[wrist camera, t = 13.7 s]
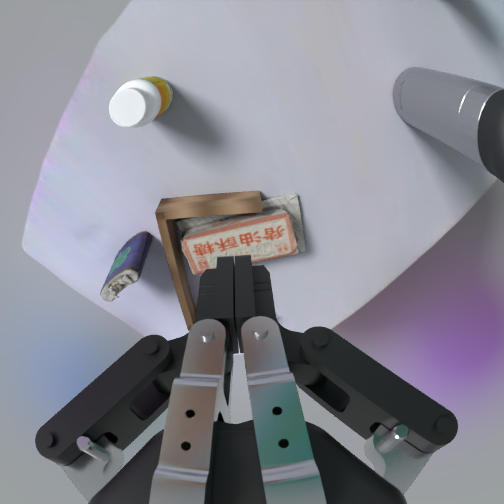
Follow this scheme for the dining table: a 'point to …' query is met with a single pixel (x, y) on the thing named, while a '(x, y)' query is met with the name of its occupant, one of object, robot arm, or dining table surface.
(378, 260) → the dining table surface
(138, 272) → the flask
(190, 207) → the frame
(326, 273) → the dining table surface
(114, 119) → the supplement bottle
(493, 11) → the dining table surface
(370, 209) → the dining table surface
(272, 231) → the packaged product
